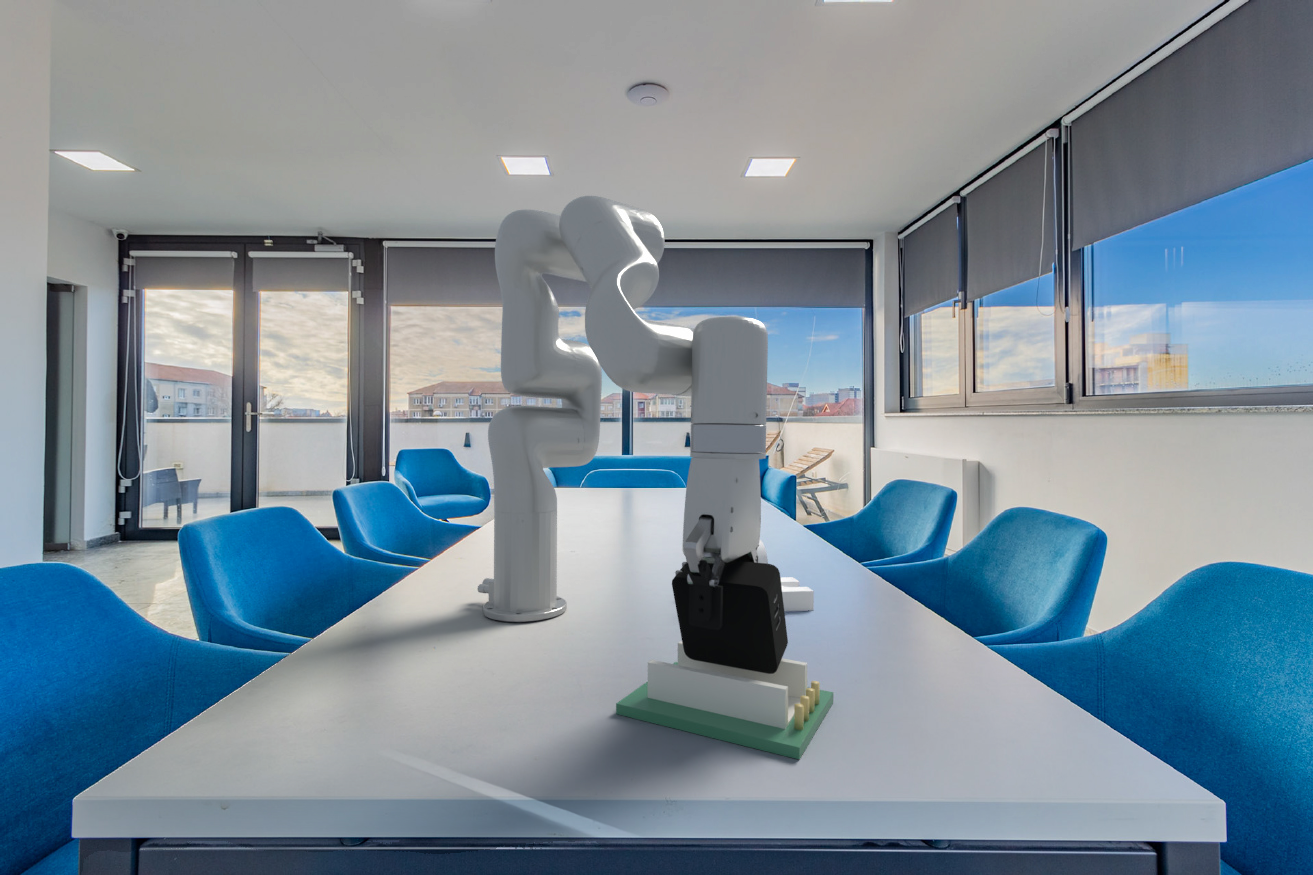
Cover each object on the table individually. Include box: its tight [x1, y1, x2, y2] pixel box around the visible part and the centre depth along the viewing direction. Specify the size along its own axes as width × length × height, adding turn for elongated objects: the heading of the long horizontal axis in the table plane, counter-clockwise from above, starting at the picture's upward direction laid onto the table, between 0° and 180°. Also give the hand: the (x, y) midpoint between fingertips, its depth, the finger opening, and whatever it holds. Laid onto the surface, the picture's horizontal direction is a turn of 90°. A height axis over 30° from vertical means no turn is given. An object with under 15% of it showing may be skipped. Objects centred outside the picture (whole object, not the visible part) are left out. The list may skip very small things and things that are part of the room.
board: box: [615, 640, 834, 760], centre depth 62 cm, size 18×13×4 cm
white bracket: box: [757, 539, 815, 612], centre depth 100 cm, size 18×10×11 cm, turn 96°
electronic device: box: [671, 560, 789, 674], centre depth 63 cm, size 4×10×10 cm, turn 62°
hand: (724, 613), depth 62 cm, fingers open, 9 cm apart
